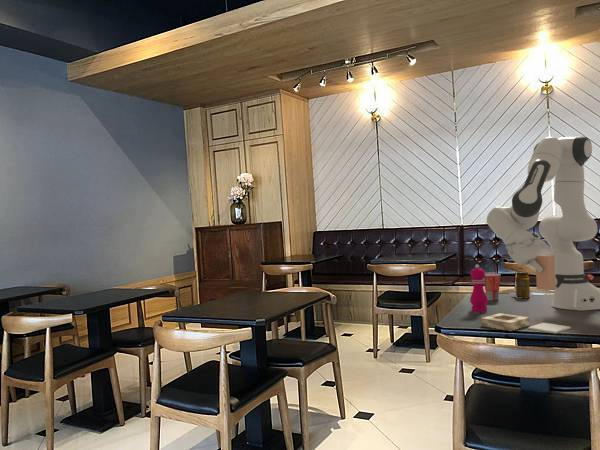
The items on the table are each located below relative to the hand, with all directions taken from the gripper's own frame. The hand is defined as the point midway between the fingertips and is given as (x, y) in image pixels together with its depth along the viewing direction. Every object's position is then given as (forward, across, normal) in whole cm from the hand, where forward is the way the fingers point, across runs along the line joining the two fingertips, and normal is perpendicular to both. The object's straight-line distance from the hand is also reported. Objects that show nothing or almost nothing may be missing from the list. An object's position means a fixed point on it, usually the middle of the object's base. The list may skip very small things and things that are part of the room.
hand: (547, 269), depth 175 cm
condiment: (-14, +50, +45) cm, 68 cm away
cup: (-20, +36, +50) cm, 65 cm away
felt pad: (+15, 0, +15) cm, 21 cm away
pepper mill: (-11, +11, +41) cm, 44 cm away
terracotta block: (+4, 0, +5) cm, 7 cm away
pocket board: (+5, -6, +25) cm, 26 cm away
